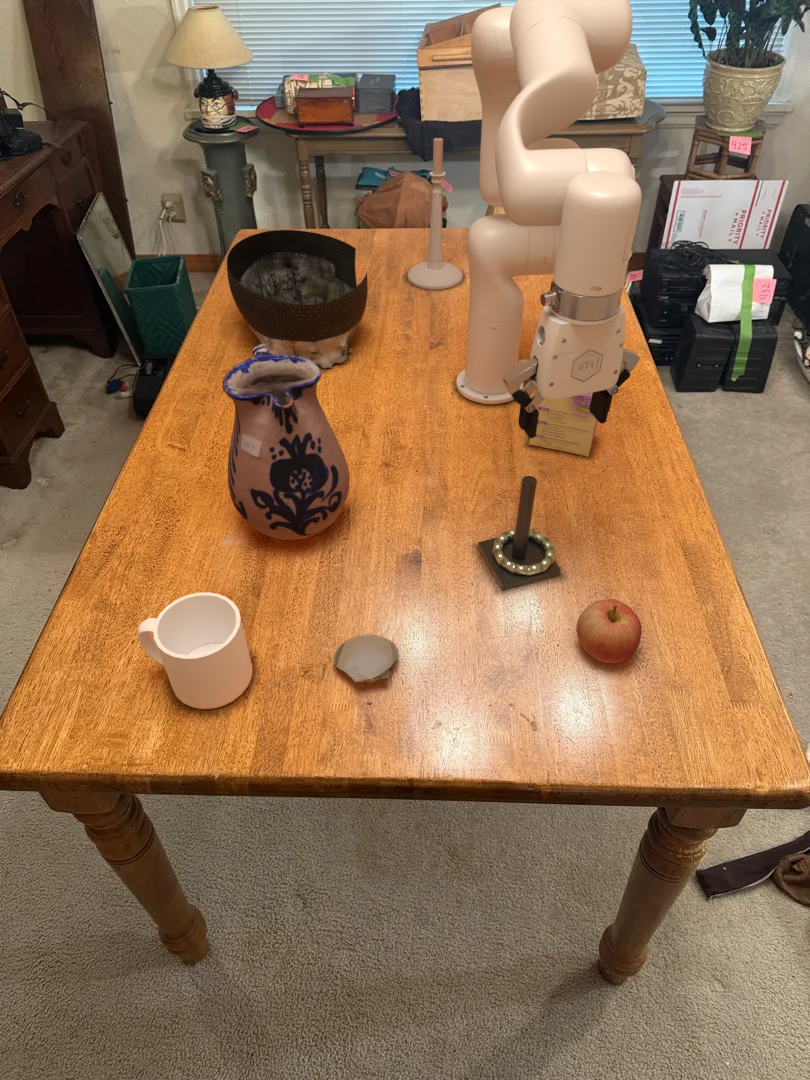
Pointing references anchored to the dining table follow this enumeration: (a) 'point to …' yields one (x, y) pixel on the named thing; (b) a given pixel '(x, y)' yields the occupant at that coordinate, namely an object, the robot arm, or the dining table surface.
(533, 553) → the stand
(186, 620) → the mug
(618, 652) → the apple
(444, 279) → the candlestick
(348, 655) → the seashell
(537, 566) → the beaded ring
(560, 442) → the box
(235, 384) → the ceramic pitcher
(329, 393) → the dining table surface
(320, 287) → the basket
